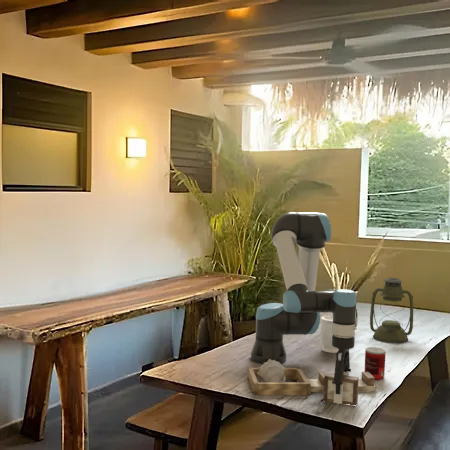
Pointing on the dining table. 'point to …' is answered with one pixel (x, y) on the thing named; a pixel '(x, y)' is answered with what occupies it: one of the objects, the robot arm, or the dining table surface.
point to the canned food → (375, 362)
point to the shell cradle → (280, 383)
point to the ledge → (363, 385)
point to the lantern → (389, 328)
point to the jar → (327, 334)
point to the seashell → (271, 372)
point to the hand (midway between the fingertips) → (341, 396)
